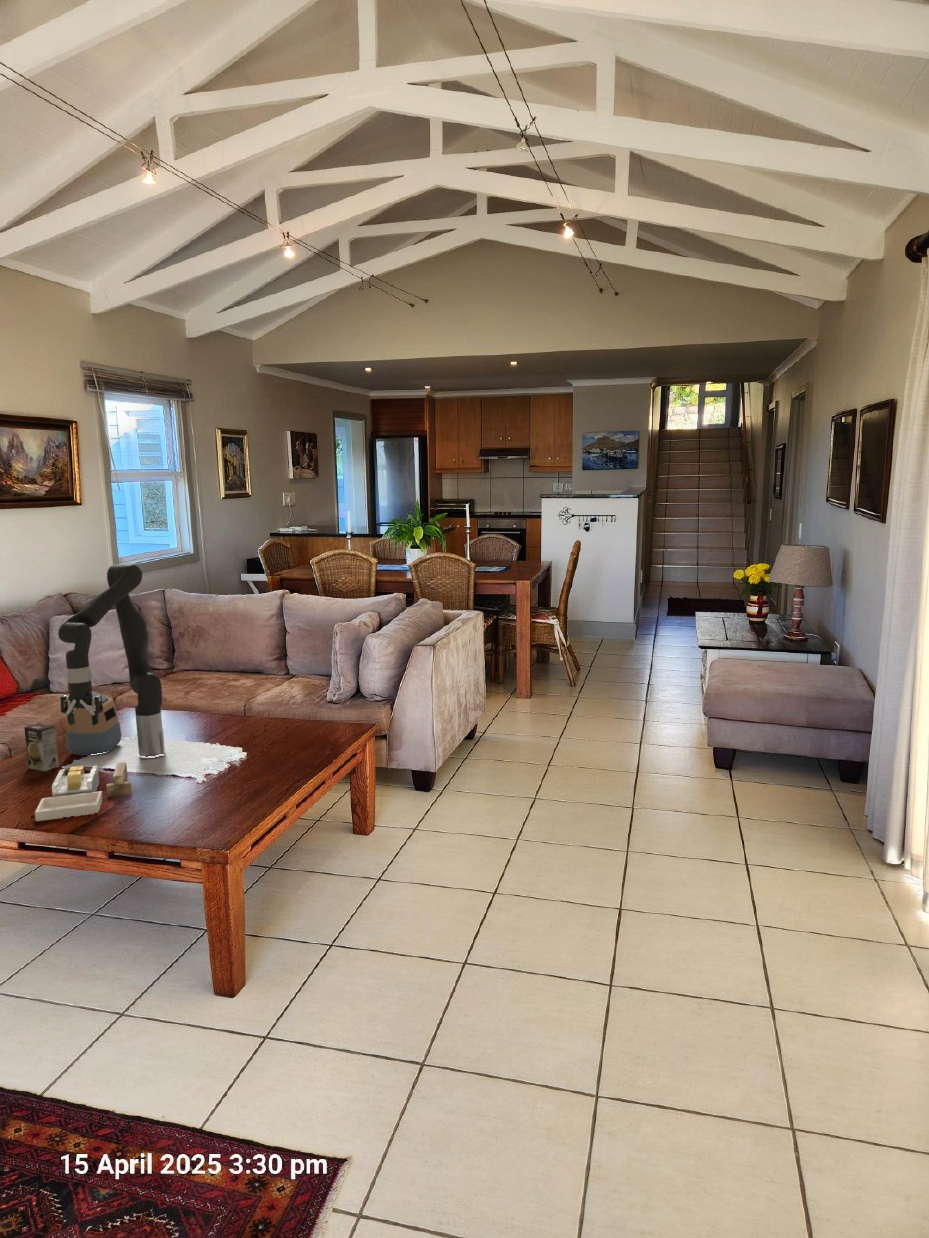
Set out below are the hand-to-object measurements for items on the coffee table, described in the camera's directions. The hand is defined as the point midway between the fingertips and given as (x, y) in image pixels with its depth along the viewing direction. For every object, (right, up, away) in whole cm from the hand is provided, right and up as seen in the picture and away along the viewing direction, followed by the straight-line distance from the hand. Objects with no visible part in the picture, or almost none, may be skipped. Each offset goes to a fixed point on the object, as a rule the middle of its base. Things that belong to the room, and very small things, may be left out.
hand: (83, 724), depth 279 cm
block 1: (0, -18, -4) cm, 19 cm away
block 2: (+1, -19, -8) cm, 21 cm away
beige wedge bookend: (+14, -22, -2) cm, 26 cm away
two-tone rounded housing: (-14, -16, +39) cm, 44 cm away
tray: (+5, -25, -20) cm, 33 cm away
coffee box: (-25, -19, +20) cm, 37 cm away
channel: (+1, -23, -6) cm, 24 cm away
